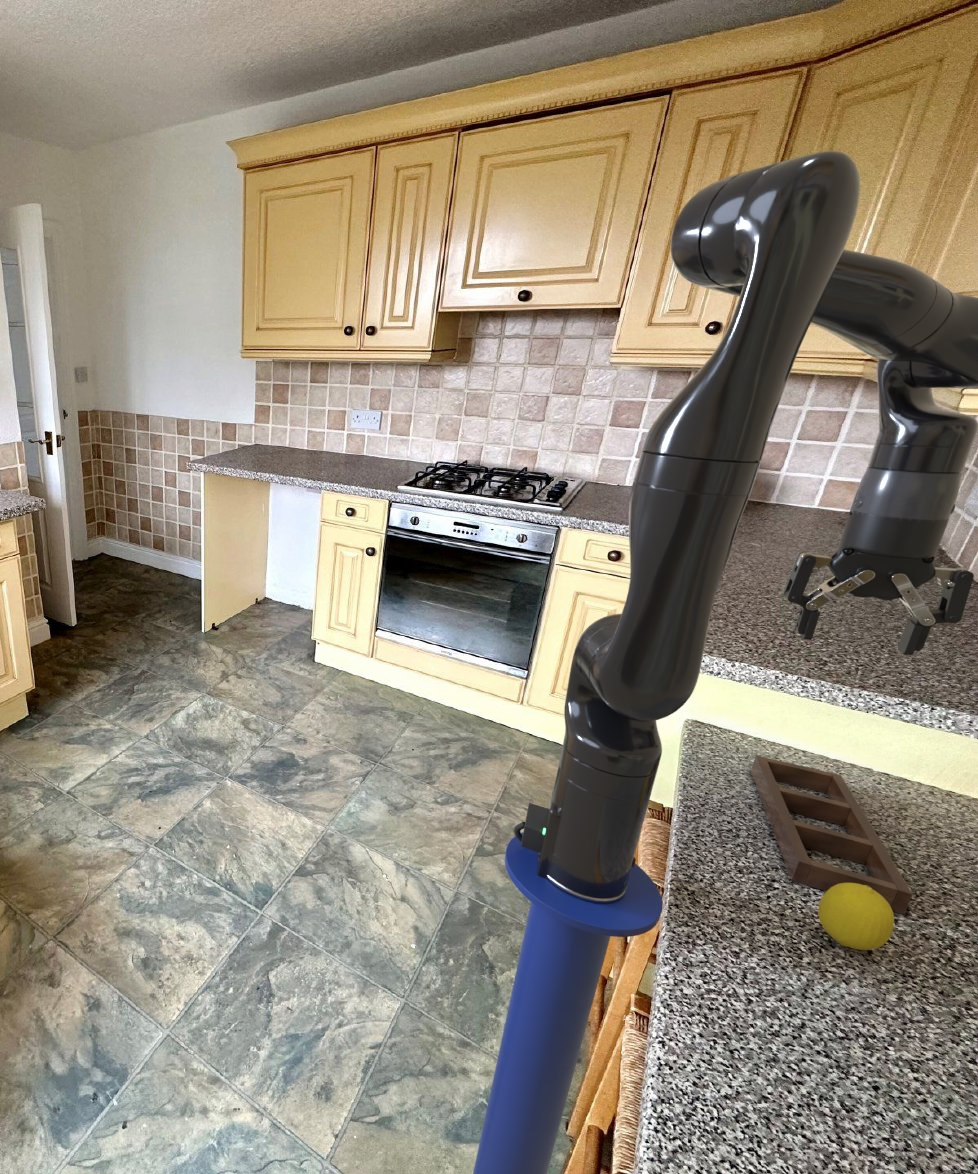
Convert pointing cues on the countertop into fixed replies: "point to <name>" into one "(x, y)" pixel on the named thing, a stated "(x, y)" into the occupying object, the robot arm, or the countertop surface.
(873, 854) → the rack
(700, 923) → the countertop surface
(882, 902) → the lemon
